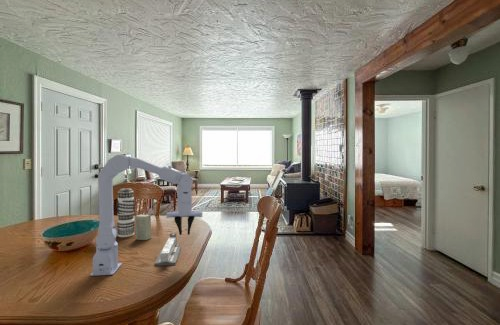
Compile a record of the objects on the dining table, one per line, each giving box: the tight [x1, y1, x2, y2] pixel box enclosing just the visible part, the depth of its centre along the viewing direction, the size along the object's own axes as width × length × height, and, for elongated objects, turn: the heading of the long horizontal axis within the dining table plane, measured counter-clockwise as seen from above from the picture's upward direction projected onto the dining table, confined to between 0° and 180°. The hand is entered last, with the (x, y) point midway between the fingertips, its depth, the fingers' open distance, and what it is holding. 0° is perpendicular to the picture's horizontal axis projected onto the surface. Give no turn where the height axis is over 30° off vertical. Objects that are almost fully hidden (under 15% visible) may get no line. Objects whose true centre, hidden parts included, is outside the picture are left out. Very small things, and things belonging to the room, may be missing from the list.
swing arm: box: [159, 236, 177, 262], centre depth 113 cm, size 20×3×3 cm, turn 8°
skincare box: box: [135, 214, 152, 241], centre depth 137 cm, size 6×4×12 cm
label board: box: [153, 246, 182, 267], centre depth 114 cm, size 18×8×1 cm, turn 8°
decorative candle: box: [116, 187, 136, 238], centre depth 143 cm, size 9×9×25 cm
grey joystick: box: [169, 233, 180, 247], centre depth 125 cm, size 5×5×6 cm
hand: (184, 234), depth 111 cm, fingers open, 3 cm apart
